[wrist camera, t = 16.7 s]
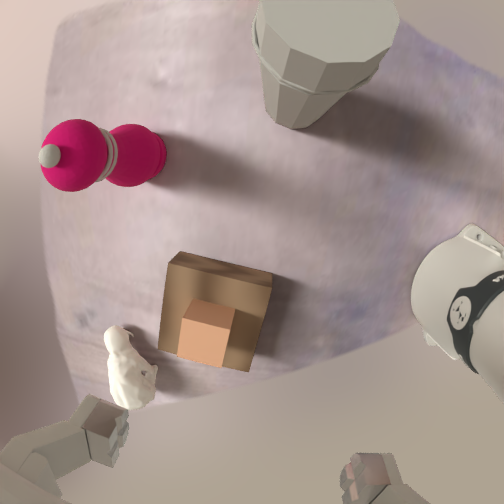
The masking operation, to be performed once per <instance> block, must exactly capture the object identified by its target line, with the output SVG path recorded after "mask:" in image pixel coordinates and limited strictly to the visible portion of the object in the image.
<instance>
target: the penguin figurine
mask: <svg viewBox="0 0 504 504" xmlns="http://www.w3.org/2000/svg"><path fill="white" fill-rule="evenodd" d="M128 333H129V334H130V335H132V334H133V333H132V334H131V332H129V331H126V330H125V329H124V328H120V327H119V326H112V327H110V328H109V329H108V330H107V331H106V332H105V334H104V341H105V345H106V347H107V349H108V351H109V352H110V355H109V359H108V363H107V364H108V370H109V372H108V376H109V384H110V392H111V394H112V396H113V398H114V400H115V402H116V404H117V405H118V406H121V407H123V408H126V409H128V410H137V409H141V408H143V407H145V406H146V405H147V404H148V403H149V401H151V400H154V397H155V392H156V388H155V386H154V385H155V381H156V379H155V378H156V373H157V371H158V366H157V365H152V366H151V365H150V364H149V363H148V362H147V361H146V360H145V359H144V358H143V357H141V356H140V355H139V354H138V352H137V351H136V350H135V349H134V348H133V347H132V345H131V344H130V341H129V334H128ZM132 336H133V335H132ZM142 371H146V374H145V376H143V375H142V374H141V373H142Z"/></svg>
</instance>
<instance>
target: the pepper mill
mask: <svg viewBox="0 0 504 504" xmlns="http://www.w3.org/2000/svg"><path fill="white" fill-rule="evenodd" d="M166 155H167V152H166V147H165V144H164V142H163V140H162V139H161V138H160V137H159V136H158V135H156V134H155V133H153V132H151V131H150V130H149V129H147V128H146V127H144V126H141V125H137V124H126V125H121V126H119V127H117V128H115V129H113V130H111V131H110V132H108V131H107V130H104V129H101V128H98V127H97V126H95V125H94V124H93V123H91V122H89V121H86V120H82V119H74V120H68V121H65V122H62V123H60V124H59V125H57V126H56V127H54V128H53V129H52V130H51V131H50V133H49V134H48V135H47V136H46V138H45V140H44V142H43V144H42V148H41V150H40V152H39V162H40V164H41V169H42V172H43V174H44V176H45V178H46V179H47V181H48V182H49V183H50V184H51V185H52V186H54V187H55V188H57V189H59V190H62V191H69V192H74V191H80V190H83V189H85V188H87V187H89V186H90V185H92V184H93V183H94V182H99V181H102V180H103V179H105V178H106V179H107V180H108V181H110V182H111V183H113V184H116V185H118V186H123V187H132V186H137V185H140V184H142V183H144V182H145V181H147V180H148V179H151V178H153V177H155V176H156V175H157V174H158V173H159V172H160V171H161V170H162V168H163V167H164V164H165V161H166Z"/></svg>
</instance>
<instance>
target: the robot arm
mask: <svg viewBox="0 0 504 504" xmlns="http://www.w3.org/2000/svg"><path fill="white" fill-rule="evenodd" d="M477 235H478V238H477ZM411 306H412V310H413V313H414V315H415V317H416V319H417V320H418V322H419V323H420V324H421V326H422V328H423V336H424V340H425V342H426V343H427V344H428V345H430V346H437V345H438V346H439V347H440V348H441V349H442V350H443V351H444V352H445V353H447V354H448V355H449V356H450V357H451V358H452V359H454V360H457V359H461V360H462V361H463V363H464V364H465V365H466V366H468V367H469V368H470V369H471V370H472V371H473V372H475V373H477V374H480V375H481V377H482V378H483V379H484V380H485V382H486V383H487V384H488V385H489V387H490V388H491V389H492V390H493V392H494V393H495V394H496V395H497V397H498V398H499V399H500V401H501V402H502V403H503V404H504V246H502V245H501V244H500V243H499V242H497V241H496V240H495V239H494V238H492V237H491V236H490V235H489V234H487V233H486V232H485V231H483V230H482V229H481V228H479V227H478V226H476V225H475V224H469V225H467V226H466V227H465V228H464V229H463V230H462V231H461V232H460V233H459V234H458V235H457V236H456V237H454V238H452V239H449V240H447V241H445V242H443V243H441V244H439V245H438V246H437V247H435V248H434V249H433V250H432V251H431V252H430V253H429V254H428V255H427V256H426V257H425V259H424V260H423V262H422V263H421V265H420V266H419V268H418V270H417V272H416V275H415V277H414V280H413V284H412V289H411ZM128 416H129V415H128V409H126V408H123V407H121V406H118V405H115V404H113V403H110V402H108V401H106V400H103V399H101V398H98V397H96V396H93V395H91V394H89V395H87V396H86V397H85V398H84V399H83V401H82V402H81V404H80V405H79V406H78V408H77V409H76V411H75V412H74V413H73V415H72V416H71V418H70V419H69V420H68V422H67V421H65V420H63V421H61V422H57V423H55V424H52V425H49V426H46V427H43V428H40V429H37V430H34V431H31V432H27V433H25V434H21V435H18V436H15V437H13V438H12V439H11V440H10V441H9V442H8V444H7V445H6V446H5V448H4V449H3V450H2V451H1V453H0V504H71V503H68V502H66V501H65V500H63V499H61V496H62V493H61V491H60V489H59V486H58V484H57V482H56V479H58V478H60V477H62V476H64V475H66V474H68V473H70V472H72V471H73V470H75V469H77V468H79V467H81V466H83V465H84V464H86V463H88V462H90V461H91V460H93V461H96V462H98V463H101V464H104V465H106V466H109V467H112V468H113V467H114V465H115V462H116V460H117V458H118V456H119V448H121V447H123V446H124V444H125V441H126V438H127V435H128V430H129V424H128V422H127V421H126V420H127V418H128ZM350 460H351V463H349V464H347V465H345V467H344V468H343V470H342V472H341V475H340V487H341V488H342V489H343V490H344V491H345V492H344V494H343V496H342V499H343V504H430V503H429V502H428V501H426V500H425V499H424V498H423V497H421V496H420V495H419V494H418V493H417V492H415V491H414V490H413V489H412V488H411V487H409V486H408V485H407V484H403V482H402V479H401V476H400V473H399V470H398V467H397V464H396V461H395V459H394V456H393V455H392V453H380V454H379V453H355V454H353V455H352V457H351V458H350Z"/></svg>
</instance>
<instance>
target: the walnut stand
mask: <svg viewBox="0 0 504 504" xmlns="http://www.w3.org/2000/svg"><path fill="white" fill-rule="evenodd" d="M271 291H272V273H269V272H265V271H261V270H256V269H252V268H248V267H244V266H239V265H235V264H231V263H227V262H223V261H218V260H214V259H210V258H206V257H202V256H198V255H194V254H190V253H185V252H181V251H180V252H179V253H178V254H177V255H176V256H175V257H174V258H173V259H172V260H171V261H170V262H169V263H168V268H167V275H166V282H165V290H164V297H163V305H162V313H161V322H160V331H159V341H158V349H159V350H162V351H166V352H169V353H173V354H176V355H177V351H178V344H179V337H180V330H181V323H182V317H183V316H184V314H185V312H186V310H187V309H188V307H189V305H190V303H191V301H192V300H193V298H194V299H198V300H202V301H206V302H210V303H214V304H218V305H222V306H226V307H230V308H234V309H235V313H234V317H233V321H232V326H231V330H230V334H229V339H228V343H227V347H226V351H225V355H224V359H223V363H222V366H223V367H227V368H231V369H236V370H240V371H245V372H249V369H250V366H251V362H252V359H253V356H254V352H255V349H256V345H257V342H258V338H259V334H260V331H261V327H262V324H263V320H264V317H265V313H266V309H267V306H268V302H269V298H270V295H271Z"/></svg>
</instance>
